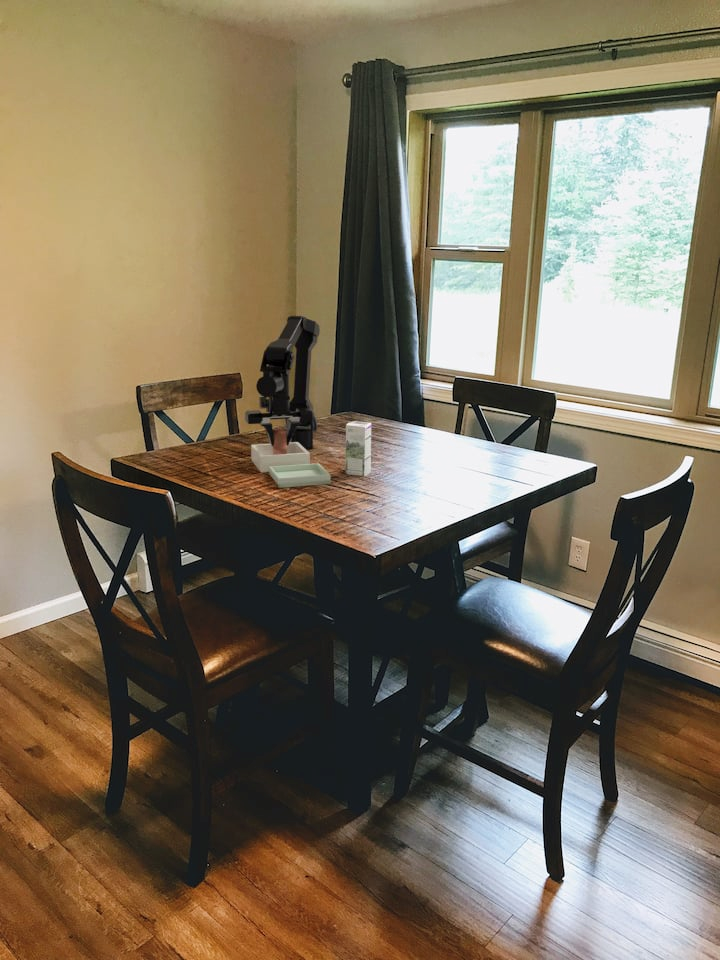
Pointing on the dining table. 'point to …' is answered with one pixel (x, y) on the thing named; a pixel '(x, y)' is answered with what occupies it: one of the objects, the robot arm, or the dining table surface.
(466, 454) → the dining table surface
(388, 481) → the dining table surface
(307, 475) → the tray
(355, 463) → the syrup box
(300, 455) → the square storage bin
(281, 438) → the dowel pin
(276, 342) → the robot arm
